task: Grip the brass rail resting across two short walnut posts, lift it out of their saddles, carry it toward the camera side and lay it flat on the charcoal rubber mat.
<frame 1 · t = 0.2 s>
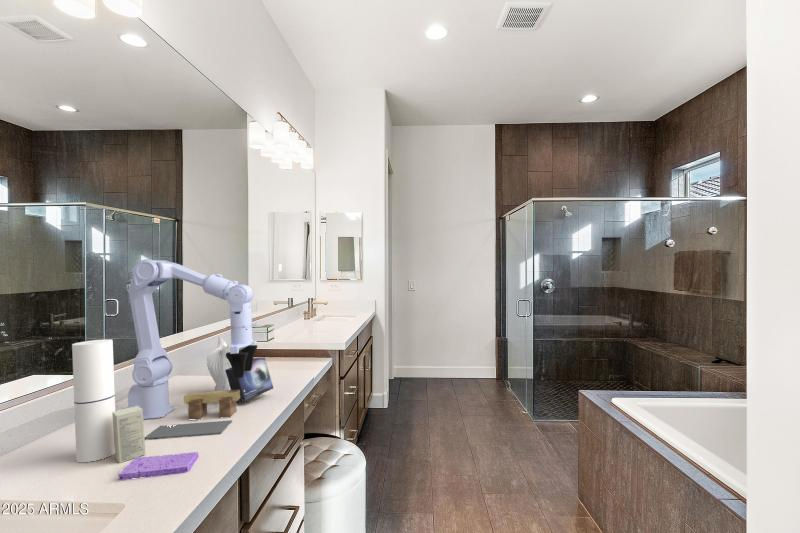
hand: (243, 374, 116), 10 cm above the worktop, tool pointing down, fingers open, 7 cm apart
posts: (213, 415, 111), on the worktop
cylindrical container: (97, 456, 89), on the worktop
skincare box: (129, 457, 88), on the worktop
shell sculpture: (225, 392, 135), on the worktop
sponges: (161, 471, 81), on the worktop
small box: (254, 396, 124), point 1 cm above the worktop
rail: (212, 401, 111), point 4 cm above the worktop, touching posts
mat: (189, 430, 101), on the worktop
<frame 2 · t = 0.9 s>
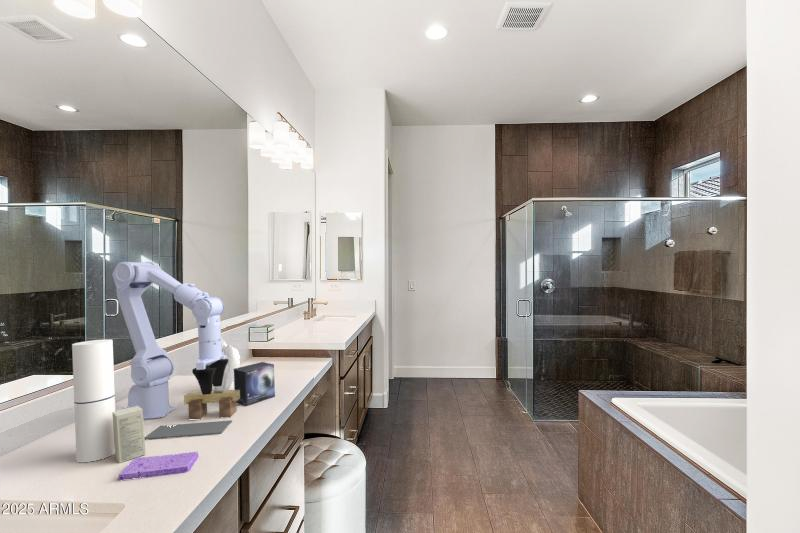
hand: (212, 389, 111), 7 cm above the worktop, tool pointing down, fingers open, 7 cm apart
small box: (255, 400, 124), on the worktop
everything else where it was.
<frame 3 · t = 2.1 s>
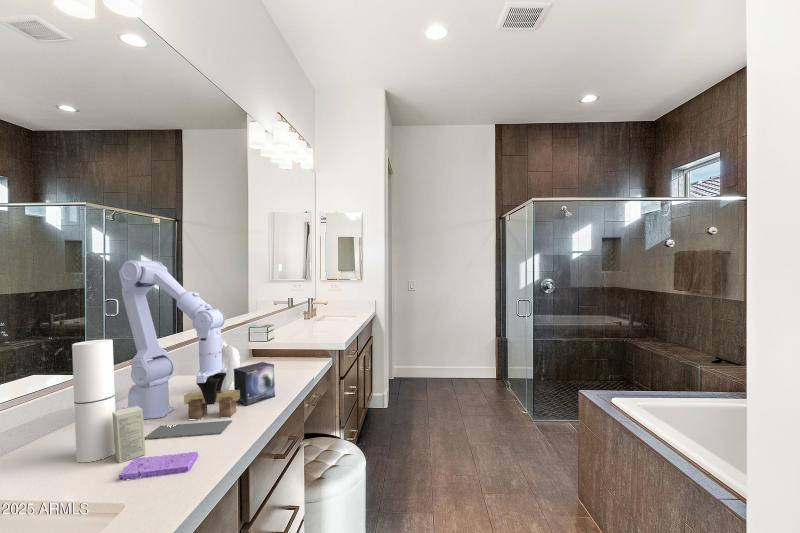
hand: (212, 402, 111), 4 cm above the worktop, tool pointing down, fingers closed on rail, 3 cm apart
rail: (212, 401, 111), point 4 cm above the worktop, touching gripper, posts
everything else where it was.
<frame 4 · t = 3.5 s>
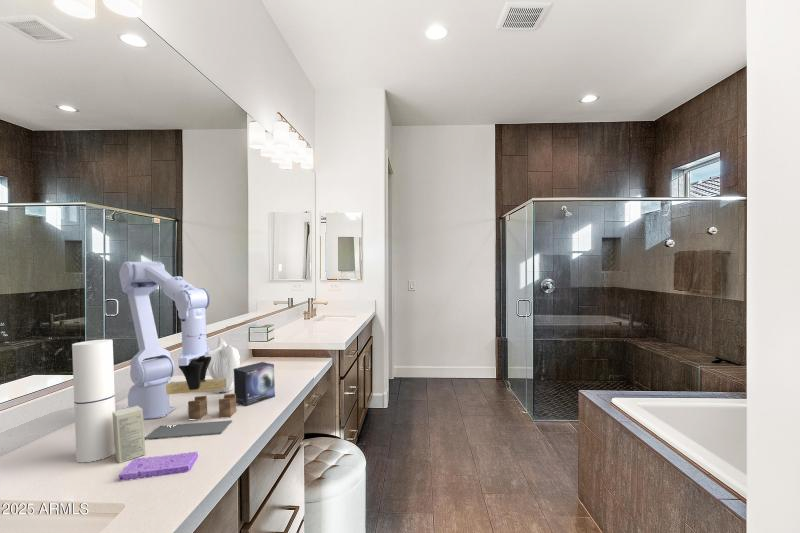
hand: (196, 387, 104), 10 cm above the worktop, tool pointing down, fingers closed on rail, 3 cm apart
rail: (196, 390, 104), point 9 cm above the worktop, touching gripper
everything else where it was.
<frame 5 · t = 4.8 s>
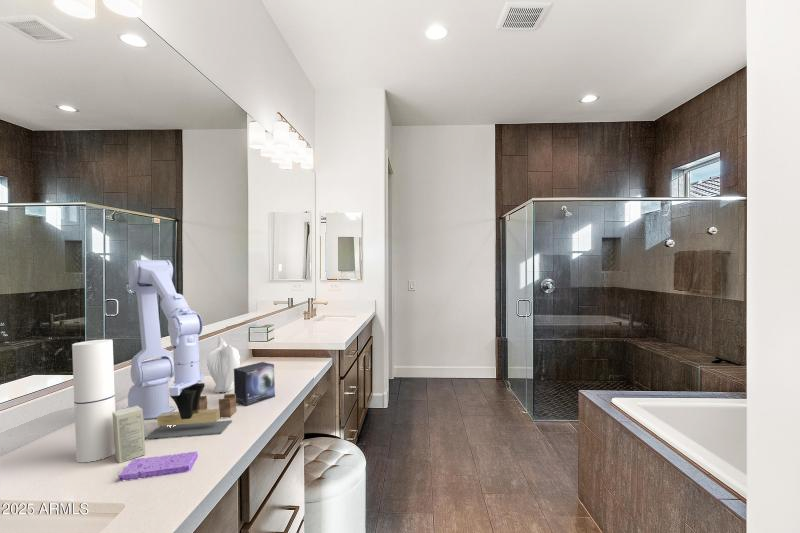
hand: (189, 416, 101), 4 cm above the worktop, tool pointing down, fingers closed on rail, 3 cm apart
rail: (189, 421, 101), point 2 cm above the worktop, touching gripper
everything else where it was.
when the fingers open (2 cm above the worktop, at t = 5.4 s): rail stays where it is, resting on mat.
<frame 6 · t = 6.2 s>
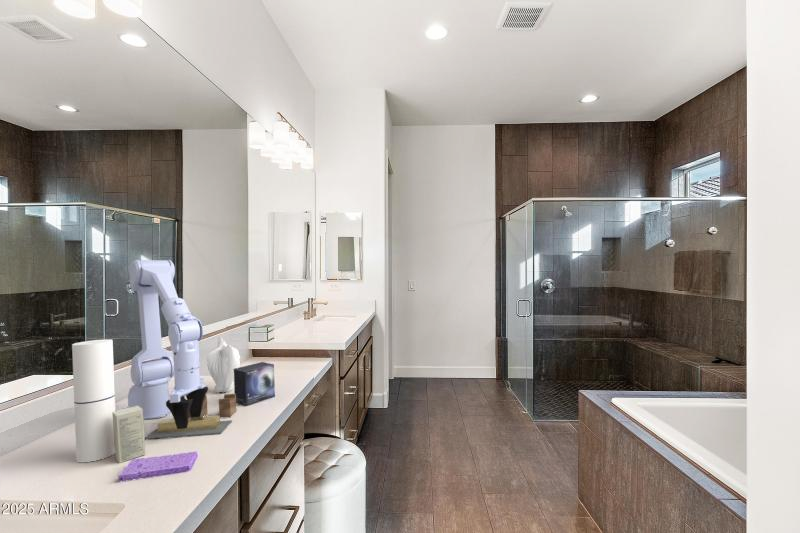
hand: (189, 422, 101), 2 cm above the worktop, tool pointing down, fingers open, 7 cm apart
rail: (189, 428, 101), resting on mat
everything else where it was.
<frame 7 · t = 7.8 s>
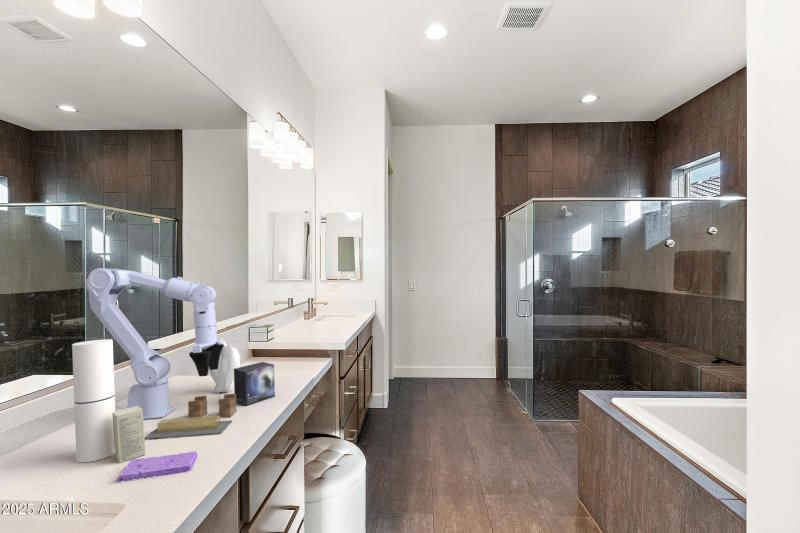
hand: (208, 372, 118), 10 cm above the worktop, tool pointing down, fingers open, 7 cm apart
nothing on the worktop moved.
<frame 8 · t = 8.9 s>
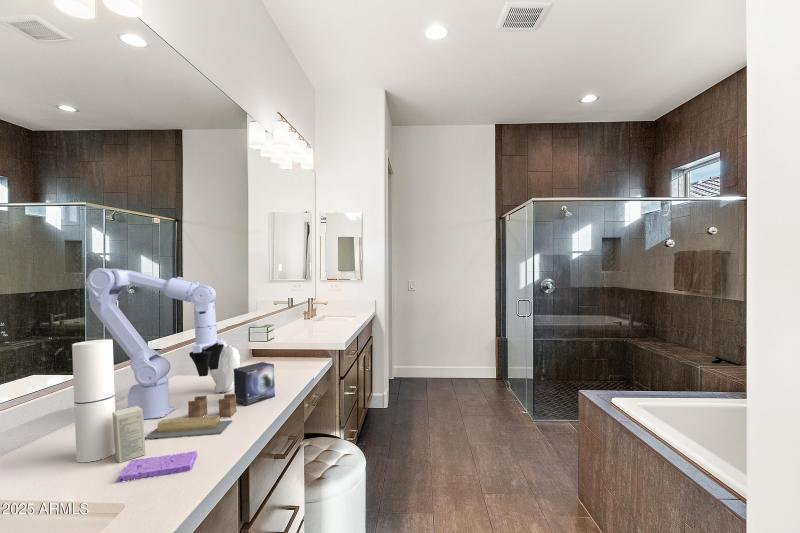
hand: (208, 372, 118), 10 cm above the worktop, tool pointing down, fingers open, 7 cm apart
nothing on the worktop moved.
at the end: rail inside the target area (0.0 cm from its centre), resting on mat; rail touching mat; the gripper is holding nothing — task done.
